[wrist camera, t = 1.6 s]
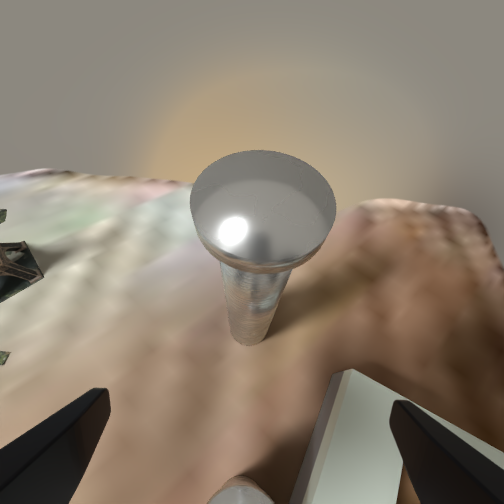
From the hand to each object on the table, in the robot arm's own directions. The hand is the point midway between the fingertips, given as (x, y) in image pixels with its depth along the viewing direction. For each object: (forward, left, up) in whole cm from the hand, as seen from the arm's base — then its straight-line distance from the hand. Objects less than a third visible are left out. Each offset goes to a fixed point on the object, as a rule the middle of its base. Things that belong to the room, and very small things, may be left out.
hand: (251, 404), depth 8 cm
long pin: (+5, +2, -12) cm, 13 cm away
